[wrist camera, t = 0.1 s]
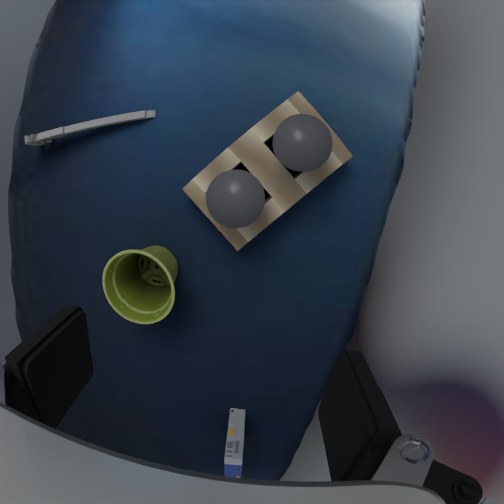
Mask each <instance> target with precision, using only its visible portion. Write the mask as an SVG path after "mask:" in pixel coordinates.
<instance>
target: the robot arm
mask: <svg viewBox="0 0 504 504" xmlns="http://www.w3.org/2000/svg"><path fill="white" fill-rule="evenodd" d="M5 360H6V364H5V365H3V364H2V363H1V362H0V504H497V503H495V502H494V501H493V500H492V499H490V498H489V497H486V498H485V499H484V498H482V488H481V486H480V484H479V482H478V481H477V480H476V479H474V478H472V477H470V476H468V475H466V474H463V473H461V472H459V471H457V470H454V469H452V468H450V467H448V466H446V465H443V464H441V463H439V462H437V461H435V460H433V457H434V450H433V447H432V445H431V444H430V443H429V442H428V441H427V440H426V439H425V438H423V437H421V436H419V435H416V434H404V435H402V434H401V431H400V429H399V427H398V425H397V423H396V421H395V418H394V416H393V414H392V412H391V410H390V408H389V406H388V403H387V401H386V400H385V397H384V395H383V393H382V391H381V389H380V388H379V386H378V385H377V383H376V381H375V379H374V377H373V375H372V373H371V371H370V369H369V367H368V365H367V363H366V361H365V359H364V357H363V355H362V353H361V351H354V350H345V351H344V352H343V354H339V355H338V357H337V360H336V362H335V365H334V368H333V371H332V374H331V377H330V379H329V382H328V385H327V388H326V390H325V393H324V396H323V398H322V401H321V403H320V406H319V411H318V415H319V420H320V425H321V430H322V435H323V440H324V445H325V450H326V455H327V460H328V465H329V471H330V476H331V481H328V482H296V481H295V482H294V481H270V480H255V479H244V478H235V477H227V476H219V475H212V474H206V473H200V472H194V471H189V470H184V469H179V468H174V467H169V466H165V465H161V464H157V463H153V462H149V461H145V460H141V459H138V458H134V457H131V456H127V455H124V454H121V453H117V452H114V451H111V450H108V449H105V448H102V447H99V446H97V445H94V444H91V443H88V442H86V441H83V440H80V439H78V438H75V437H73V436H70V435H68V434H66V433H63V432H61V431H59V430H56V427H57V426H58V424H59V423H60V421H61V420H62V418H63V417H64V416H65V414H66V413H67V411H68V410H69V408H70V407H71V405H72V404H73V402H74V401H75V400H76V398H77V397H78V395H79V394H80V392H81V391H82V390H83V388H84V387H85V385H86V384H87V383H88V381H89V380H90V378H91V377H92V375H93V363H92V357H91V350H90V344H89V336H88V328H87V319H86V314H85V312H83V310H82V308H81V307H78V306H74V305H70V304H67V305H65V306H64V307H63V308H62V309H60V310H59V311H58V312H57V313H56V314H54V315H53V316H52V317H51V318H50V319H48V320H47V321H46V322H45V323H44V324H42V325H41V326H40V327H39V328H38V329H36V330H35V331H34V332H33V333H32V334H31V335H29V336H28V337H27V338H26V339H25V340H24V341H23V342H21V343H20V344H19V345H18V346H17V347H16V348H15V349H13V350H12V351H11V352H10V353H9V354H8V355H7V356H6V357H5Z"/></svg>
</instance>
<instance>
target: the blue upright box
mask: <svg viewBox="0 0 504 504" xmlns="http://www.w3.org/2000/svg"><path fill="white" fill-rule="evenodd" d="M244 428H245V410H241V409H237V408H230V416H229V424H228V432H227V441H226V450H225V476H227V477H235V478H241V474H242V459H243V447H244Z"/></svg>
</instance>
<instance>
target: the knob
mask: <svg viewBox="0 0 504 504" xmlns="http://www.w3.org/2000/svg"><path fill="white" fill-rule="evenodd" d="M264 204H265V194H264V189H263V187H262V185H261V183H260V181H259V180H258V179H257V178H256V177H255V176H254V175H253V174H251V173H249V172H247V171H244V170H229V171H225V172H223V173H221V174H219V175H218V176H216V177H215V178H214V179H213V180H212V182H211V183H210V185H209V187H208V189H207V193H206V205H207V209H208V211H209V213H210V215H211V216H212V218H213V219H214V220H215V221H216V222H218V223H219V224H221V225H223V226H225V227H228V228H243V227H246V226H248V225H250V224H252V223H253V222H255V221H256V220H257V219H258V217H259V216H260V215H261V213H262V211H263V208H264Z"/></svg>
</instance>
